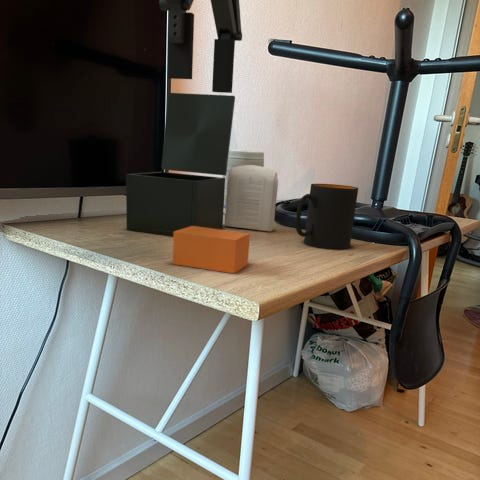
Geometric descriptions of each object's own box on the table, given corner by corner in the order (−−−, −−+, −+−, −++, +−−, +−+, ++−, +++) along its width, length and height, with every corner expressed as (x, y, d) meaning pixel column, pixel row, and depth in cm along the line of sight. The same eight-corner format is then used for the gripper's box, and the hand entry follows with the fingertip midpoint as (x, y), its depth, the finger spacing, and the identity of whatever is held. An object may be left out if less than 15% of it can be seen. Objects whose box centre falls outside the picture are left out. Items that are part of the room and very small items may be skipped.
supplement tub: (246, 211, 124) (251, 150, 119) (267, 217, 117) (273, 152, 112) (213, 211, 119) (216, 148, 114) (233, 218, 112) (237, 150, 107)
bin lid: (234, 95, 90) (235, 96, 91) (168, 92, 94) (170, 93, 95) (224, 175, 93) (226, 175, 94) (161, 169, 97) (163, 169, 98)
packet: (233, 273, 65) (236, 240, 63) (172, 264, 67) (173, 231, 66) (247, 264, 70) (250, 233, 68) (190, 256, 72) (191, 225, 71)
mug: (279, 242, 88) (284, 182, 84) (328, 239, 94) (335, 183, 91) (308, 251, 81) (316, 188, 78) (359, 247, 88) (368, 188, 84)
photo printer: (275, 229, 100) (281, 167, 96) (271, 232, 96) (277, 167, 92) (227, 224, 103) (231, 163, 98) (221, 227, 99) (225, 163, 94)
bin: (194, 239, 85) (197, 181, 81) (126, 229, 89) (125, 174, 85) (222, 228, 97) (225, 177, 94) (161, 220, 101) (162, 171, 97)
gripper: (197, -198, 43) (189, 71, 50) (272, -76, 65) (259, 97, 72) (122, -187, 45) (125, 69, 52) (219, -73, 67) (212, 95, 74)
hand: (203, 86), depth 62 cm, fingers open, 13 cm apart
